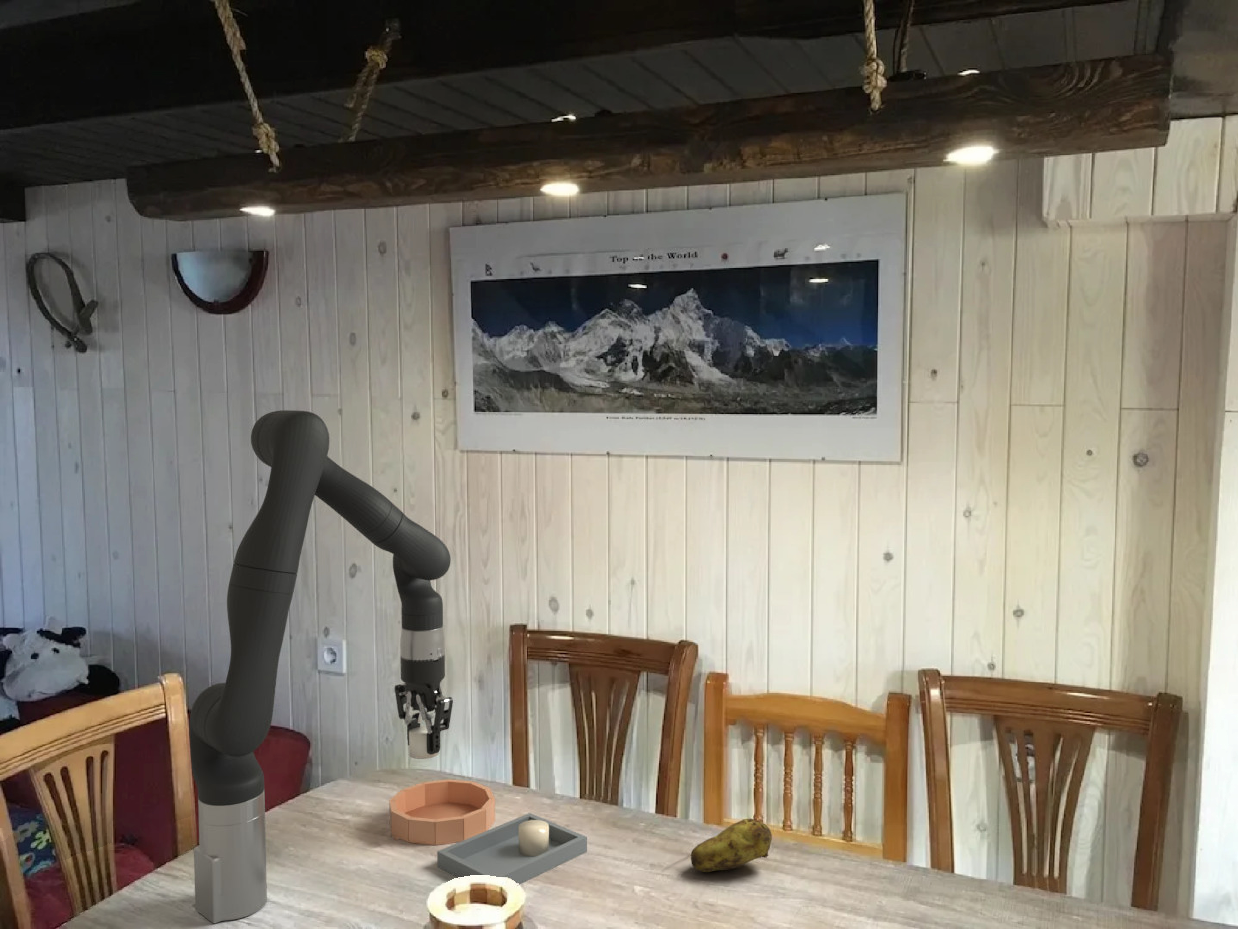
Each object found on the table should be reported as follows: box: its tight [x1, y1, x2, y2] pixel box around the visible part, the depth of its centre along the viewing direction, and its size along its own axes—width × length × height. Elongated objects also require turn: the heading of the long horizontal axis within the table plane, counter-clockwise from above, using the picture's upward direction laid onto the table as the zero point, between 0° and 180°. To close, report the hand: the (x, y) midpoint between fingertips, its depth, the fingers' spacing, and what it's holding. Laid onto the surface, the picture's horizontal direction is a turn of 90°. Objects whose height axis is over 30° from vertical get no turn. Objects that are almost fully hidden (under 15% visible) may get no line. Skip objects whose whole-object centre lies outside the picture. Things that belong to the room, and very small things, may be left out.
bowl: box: [388, 778, 496, 846], centre depth 176 cm, size 18×18×5 cm
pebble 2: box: [519, 820, 549, 857], centre depth 165 cm, size 5×5×4 cm
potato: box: [690, 818, 773, 873], centre depth 161 cm, size 8×13×8 cm, turn 82°
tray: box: [436, 812, 588, 885], centre depth 162 cm, size 20×14×4 cm
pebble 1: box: [408, 725, 440, 760], centre depth 172 cm, size 5×5×4 cm
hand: (423, 748), depth 172 cm, fingers closed on pebble 1, 5 cm apart
